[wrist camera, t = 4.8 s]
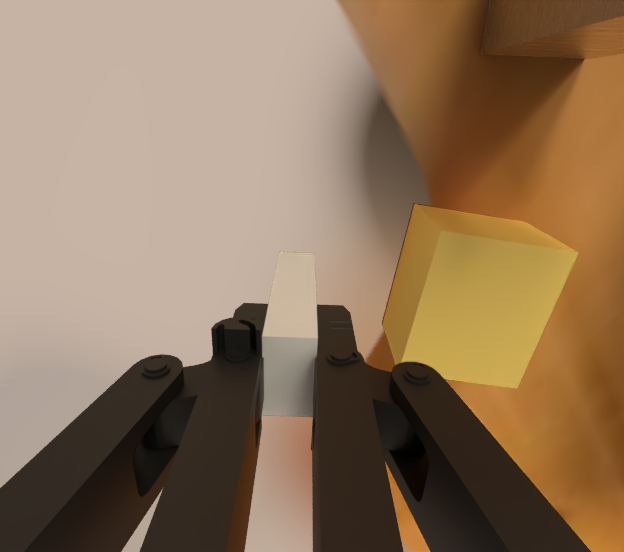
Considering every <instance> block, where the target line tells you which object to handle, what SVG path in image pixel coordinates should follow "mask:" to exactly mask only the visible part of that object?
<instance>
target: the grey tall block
mask: <svg viewBox="0 0 624 552" xmlns="http://www.w3.org/2000/svg"><path fill="white" fill-rule="evenodd" d="M623 53H624V0H489V4H488V9H487V15H486V20H485V26H484V31H483V37H482V42H481V48H480V53H479V54H487V55H509V56H531V57H553V58H574V59H588V58H595V57H602V56H609V55H616V54H623Z"/></svg>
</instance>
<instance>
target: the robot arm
mask: <svg viewBox="0 0 624 552" xmlns="http://www.w3.org/2000/svg"><path fill="white" fill-rule="evenodd" d="M316 302H317V301H316V274H315V253H298V252H279V254H278V259H277V264H276V269H275V274H274V279H273V284H272V290H271V294H270V299H269V304H254V303H243V304H242V305H241V306H240V307H239V308H237V309H236V310H235V313H234V316H233V318H228V319H225V320H222V321H220V322H218V323H216V324H215V325H214V326H213V327H212V329H211V330H212V345H213V356H212V359H211V360H210V361H208V362H206V363H203V364H199V365H194V366H189V367H183V366H182V362H181V361H180V360H179V359H178V358H177V357H174V356H171V355H154V356H150V357H147V358H145V359H142V360H140V361H139V362H137V363H136V364H134V365H133V366H132V367H131V368H130V369H129V370H128V371H127V372H125V373H124V374H123V375H122V376H121V377H120V378H119V379H118V380H117V381H116V382H115V383H114V384H113V385H111V386H110V387H109V388H108V389H107V390H106V391H105V392H104V393H103V394H102V395H101V396H100V397H98V398H97V399H96V400H95V401H94V402H93V403H92V404H91V405H90V406H89V407H88V408H87V409H85V410H84V411H83V412H82V413H81V414H80V415H79V416H78V417H77V418H76V419H75V420H74V421H73V422H71V423H70V424H69V425H68V426H67V427H66V428H65V429H64V430H63V431H62V432H61V433H60V434H59V435H57V436H56V437H55V438H54V439H53V440H52V441H51V442H50V443H49V444H48V445H47V446H46V447H44V448H43V449H42V450H41V451H40V452H39V453H38V454H37V455H36V456H35V457H34V458H33V459H31V460H30V461H29V462H28V463H27V464H26V465H25V466H24V467H23V468H22V469H21V470H20V471H19V472H18V473H16V474H15V475H14V476H13V477H12V478H11V479H10V480H9V481H8V482H7V483H6V484H5V485H3V486H2V487H1V488H0V552H121V551H122V549H123V548H124V546H125V545H126V543H127V542H128V540H129V539H130V537H131V536H132V534H133V533H134V531H135V530H136V528H137V527H138V525H139V524H140V522H141V521H142V519H143V517H144V516H145V515H146V513H147V511H148V510H149V508H150V507H151V505H152V504H153V502H154V501H155V499H156V498H157V496H158V495H159V493H160V492H161V490H162V489H163V490H162V493H161V496H160V498H159V501H158V504H157V507H156V509H155V512H154V515H153V518H152V520H151V523H150V525H149V528H148V531H147V534H146V536H145V539H144V542H143V544H142V547H141V550H140V552H244V550H245V543H246V536H247V528H248V521H249V515H250V508H251V500H252V493H253V486H254V479H255V472H256V465H257V458H258V451H259V444H260V436H261V428H262V424H261V423H262V421H261V415H262V408H263V415H264V416H298V417H313V426H312V443H311V450H312V463H313V464H312V473H313V475H312V477H313V552H403V547H402V542H401V537H400V533H399V528H398V523H397V518H396V513H395V508H394V503H393V499H392V494H391V489H390V484H389V479H388V474H387V469H386V465H385V461H386V463H387V465H388V467H389V469H390V471H391V473H392V475H393V477H394V479H395V481H396V483H397V485H398V487H399V489H400V491H401V493H402V495H403V497H404V499H405V501H406V503H407V505H408V507H409V509H410V511H411V513H412V515H413V517H414V519H415V521H416V523H417V525H418V527H419V529H420V531H421V533H422V535H423V537H424V539H425V541H426V543H427V545H428V547H429V549H430V551H431V552H591V551H590V550H589V549H588V547H587V546H586V545H585V544H584V543H583V542H582V540H581V539H580V538H579V537H578V536H577V534H576V533H575V532H574V531H573V530H572V529H571V527H570V526H569V525H568V524H567V523H566V522H565V520H564V519H563V518H562V517H561V516H560V515H559V513H558V512H557V511H556V510H555V509H554V507H553V506H552V505H551V504H550V503H549V502H548V500H547V499H546V498H545V497H544V496H543V495H542V493H541V492H540V491H539V490H538V489H537V487H536V486H535V485H534V484H533V483H532V482H531V480H530V479H529V478H528V477H527V476H526V475H525V473H524V472H523V471H522V470H521V469H520V468H519V466H518V465H517V464H516V463H515V462H514V460H513V459H512V458H511V457H510V456H509V455H508V453H507V452H506V451H505V450H504V449H503V448H502V446H501V445H500V444H499V443H498V442H497V440H496V439H495V438H494V437H493V436H492V435H491V433H490V432H489V431H488V430H487V429H486V428H485V426H484V425H483V424H482V423H481V422H480V421H479V419H478V418H477V417H476V416H475V415H474V413H473V412H472V411H471V410H470V409H469V408H468V406H467V405H466V404H465V403H464V402H463V401H462V399H461V398H460V397H459V396H458V395H457V393H456V392H455V391H454V390H453V389H452V388H451V386H450V385H449V384H448V383H447V382H446V381H445V379H444V378H443V377H442V376H441V375H440V374H439V373H438V372H437V371H436V370H435V369H434V368H432V367H430V366H428V365H426V364H423V363H419V362H402V363H398V364H397V365H396V366H394V367H393V369H392V373H391V372H387V371H383V370H379V369H376V368H373V367H371V366H369V365H367V364H366V363H365V362H364V359H363V357H362V355H361V353H359V352H358V351H357V347H356V341H355V336H354V331H353V326H352V320H351V315H350V312H349V311H348V310H347V309H346V308H345V307H344V306H339V305H317V303H316ZM384 459H385V460H384ZM163 487H164V488H163Z"/></svg>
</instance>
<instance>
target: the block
mask: <svg viewBox="0 0 624 552" xmlns="http://www.w3.org/2000/svg"><path fill="white" fill-rule="evenodd" d="M578 253H579V252H577V251H575V250H574V249H572V248H570V247H568V246H567V245H565V244H563V243H561V242H560V241H558V240H556V239H554V238H553V237H551V236H549V235H547V234H546V233H544V232H542V231H540V230H539V229H537V228H535V227H533V226H532V225H530V224H528V223H526V222H523V221H516V220H510V219H504V218H498V217H492V216H486V215H479V214H473V213H467V212H461V211H455V210H448V209H442V208H436V207H430V206H428V205H422V204H416V203H413V207H412V211H411V215H410V218H409V222H408V226H407V230H406V233H405V237H404V241H403V245H402V249H401V252H400V256H399V260H398V263H397V267H396V271H395V275H394V278H393V282H392V286H391V290H390V294H389V297H388V301H387V305H386V309H385V312H384V316H383V320H382V325H383V328H384V331H385V334H386V337H387V340H388V343H389V346H390V349H391V352H392V356H393V359H394V362H395V365H397V364H398V363H402V362H419V363H423V364H426V365H428V366H430V367H432V368H434V369H435V370H436V371H437V372H438V373H439V374H440V375H441V376H442V377H443V378H444V379H448V380H455V381H463V382H470V383H478V384H485V385H493V386H501V387H508V388H516V389H517V388H518V386H519V383H520V381H521V379H522V377H523V375H524V372H525V370H526V368H527V366H528V364H529V361H530V359H531V357H532V355H533V353H534V350H535V348H536V346H537V344H538V342H539V339H540V337H541V335H542V333H543V331H544V328H545V326H546V324H547V322H548V320H549V317H550V315H551V313H552V311H553V308H554V306H555V304H556V302H557V300H558V297H559V295H560V293H561V291H562V289H563V286H564V284H565V282H566V280H567V278H568V275H569V273H570V271H571V269H572V267H573V264H574V262H575V260H576V258H577V256H578Z"/></svg>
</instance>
